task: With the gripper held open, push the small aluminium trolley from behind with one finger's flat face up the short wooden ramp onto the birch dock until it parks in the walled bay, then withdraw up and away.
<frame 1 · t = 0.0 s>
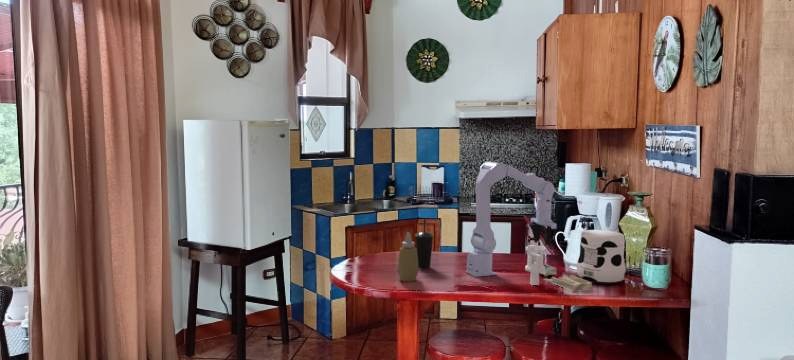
hand: (542, 242, 229), 10 cm above the table, fingers open, 7 cm apart
dock: (571, 286, 203), on the table
drinking cup: (423, 267, 228), on the table
milk container: (600, 281, 211), on the table
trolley: (545, 275, 217), on the table
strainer: (534, 285, 205), on the table
squeeze bottle: (407, 280, 210), on the table
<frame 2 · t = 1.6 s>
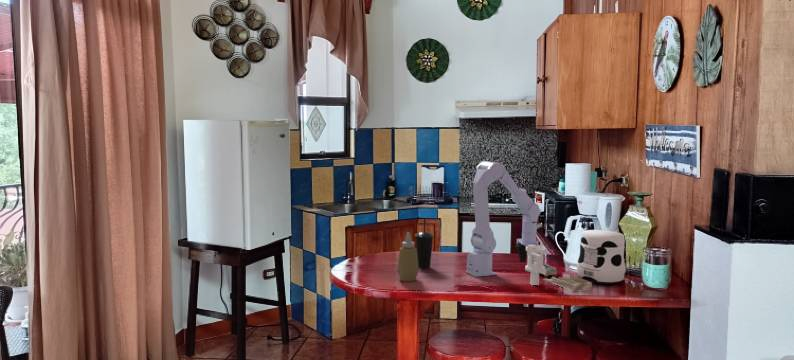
hand: (528, 264, 228), 2 cm above the table, fingers open, 7 cm apart
nothing on the table moved.
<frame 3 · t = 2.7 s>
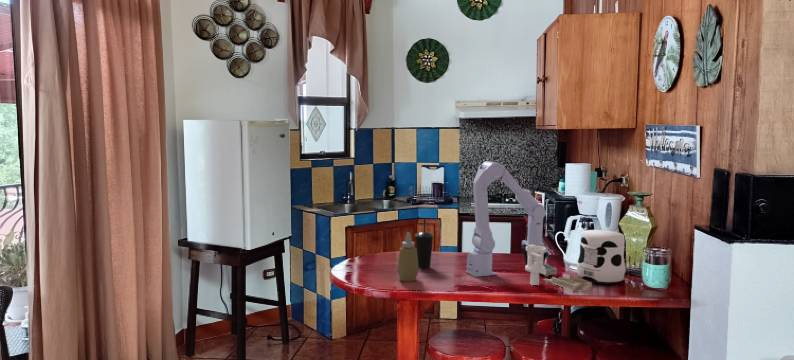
hand: (533, 266, 224), 2 cm above the table, fingers open, 7 cm apart
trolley: (545, 275, 217), on the table, touching gripper
everything else where it was.
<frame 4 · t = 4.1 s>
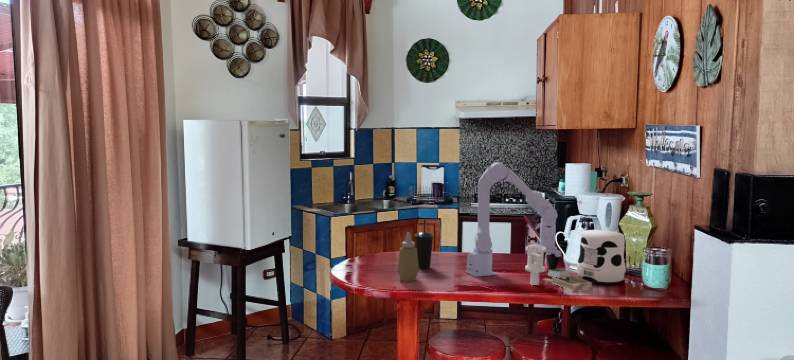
hand: (546, 270, 217), 2 cm above the table, fingers open, 7 cm apart
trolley: (559, 279, 210), point 1 cm above the table, tilted 7°, touching gripper
everything else where it was.
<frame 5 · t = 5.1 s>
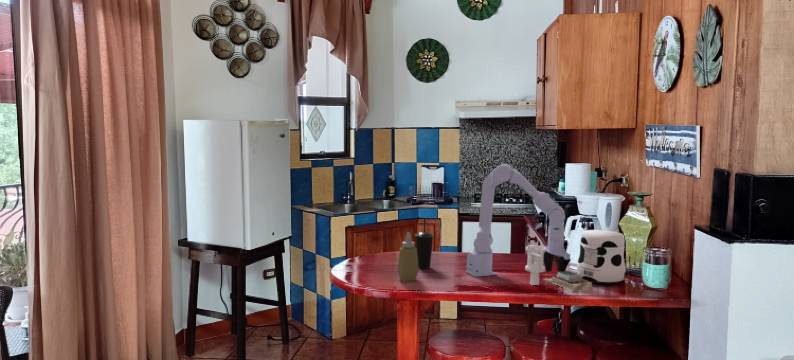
hand: (554, 273, 212), 2 cm above the table, fingers open, 7 cm apart
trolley: (568, 282, 205), point 1 cm above the table, touching dock, gripper
everything else where it was.
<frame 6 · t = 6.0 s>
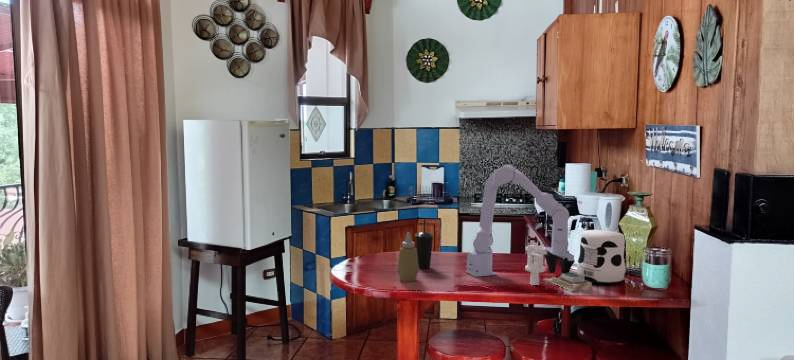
hand: (558, 275, 210), 2 cm above the table, fingers open, 7 cm apart
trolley: (571, 284, 203), point 1 cm above the table, touching dock, gripper
everything else where it was.
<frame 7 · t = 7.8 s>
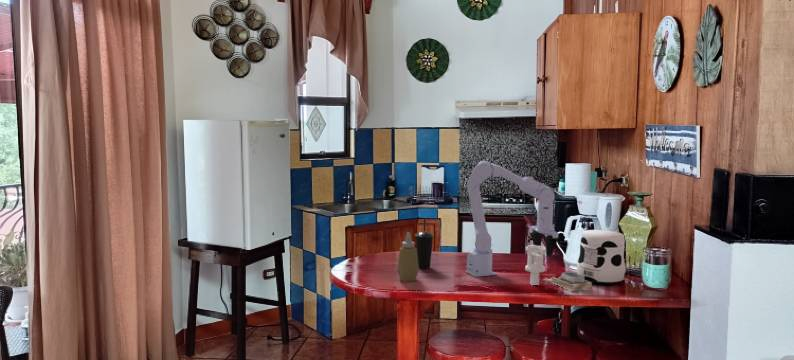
hand: (543, 252, 215), 9 cm above the table, fingers open, 7 cm apart
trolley: (571, 284, 203), point 1 cm above the table, touching dock
everything else where it was.
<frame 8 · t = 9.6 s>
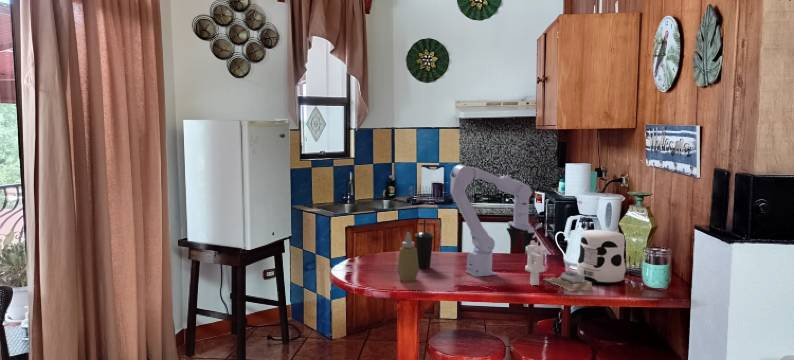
hand: (519, 247, 221), 10 cm above the table, fingers open, 7 cm apart
nothing on the table moved.
at the end: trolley 0.2 cm from the target spot, point 1.0 cm above the table; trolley tilted 0°; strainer moved 0.2 cm from its start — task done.
